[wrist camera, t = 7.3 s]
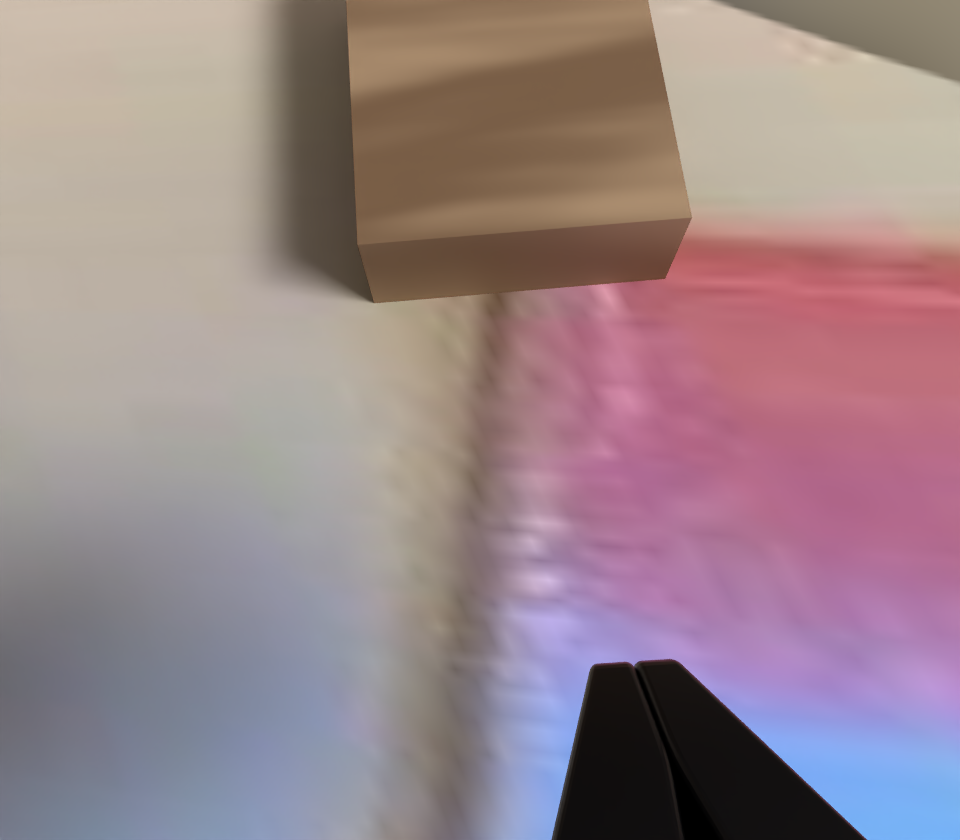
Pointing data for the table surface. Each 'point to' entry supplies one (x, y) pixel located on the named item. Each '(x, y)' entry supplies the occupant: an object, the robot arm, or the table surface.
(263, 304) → the table surface
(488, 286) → the brown block
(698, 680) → the robot arm
